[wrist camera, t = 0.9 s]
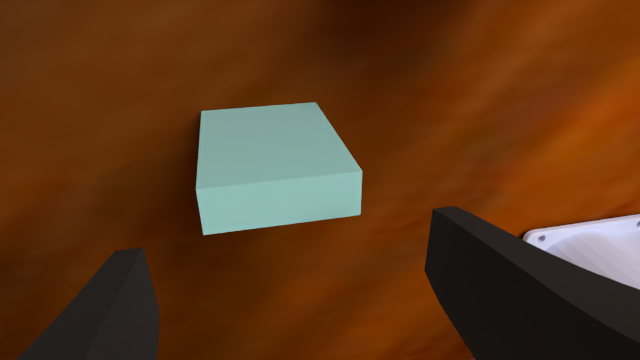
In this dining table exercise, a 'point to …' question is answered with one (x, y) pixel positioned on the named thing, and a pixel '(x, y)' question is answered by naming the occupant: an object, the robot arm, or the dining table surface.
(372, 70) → the dining table surface
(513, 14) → the dining table surface
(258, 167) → the domino teal
